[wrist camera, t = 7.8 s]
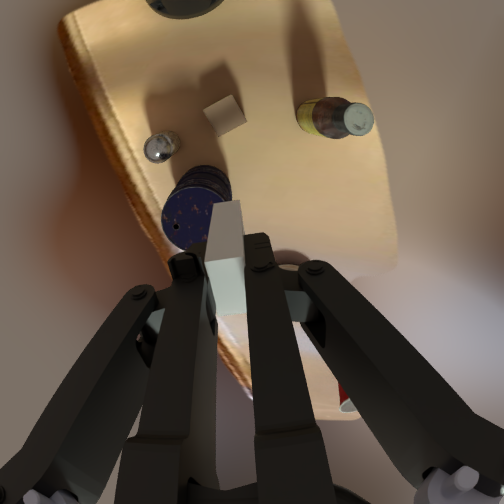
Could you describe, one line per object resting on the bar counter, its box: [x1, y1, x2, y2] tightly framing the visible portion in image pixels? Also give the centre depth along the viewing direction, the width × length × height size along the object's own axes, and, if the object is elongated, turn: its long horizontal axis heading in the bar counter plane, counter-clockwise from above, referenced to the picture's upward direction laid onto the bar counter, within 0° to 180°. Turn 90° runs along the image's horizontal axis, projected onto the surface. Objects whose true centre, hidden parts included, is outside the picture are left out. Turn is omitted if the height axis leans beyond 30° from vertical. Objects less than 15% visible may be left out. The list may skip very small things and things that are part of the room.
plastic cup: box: [338, 382, 358, 413], centre depth 75 cm, size 11×11×12 cm
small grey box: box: [203, 94, 247, 137], centre depth 44 cm, size 5×5×6 cm
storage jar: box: [161, 165, 232, 251], centre depth 46 cm, size 10×10×15 cm
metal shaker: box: [144, 131, 180, 163], centre depth 44 cm, size 5×5×9 cm
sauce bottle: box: [296, 97, 374, 139], centre depth 38 cm, size 7×6×20 cm
